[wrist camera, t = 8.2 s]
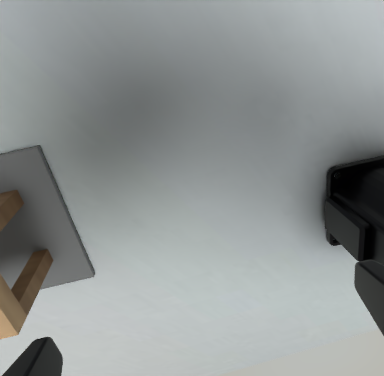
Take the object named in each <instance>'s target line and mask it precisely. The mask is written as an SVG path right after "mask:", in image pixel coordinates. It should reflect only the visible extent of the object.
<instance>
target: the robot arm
mask: <svg viewBox="0 0 384 376" xmlns="http://www.w3.org/2000/svg"><path fill="white" fill-rule="evenodd" d="M337 172H338V174H337V175H336V176H335V177H334V175H335V173H337ZM325 228H326V229H327V241H328V242H329V243H330V244H331V245H333V246H336V245H340V244H341V245H342V246H343V247H344V248H345V249H346V250H347V251H348V252H349V253H350V254H351V255H352V256H353V257H354V258H355V259H356V260H357V261H359V262H357V263H356V265H355V280H354V284H355V288H356V291H357V292H358V294H359V296H360V297H361V299H362V301H363V302H364V304H365V306H366V307H367V309H368V311H369V312H370V314H371V316H372V317H373V319H374V321H375V322H376V324H377V326H378V327H379V329H380V330H381V332H382V334H383V335H384V156H380V157H375V158H371V159H367V160H362V161H358V162H354V163H349V164H345V165H341V166H336V167H333V168H331V169H330V170H329V172H328V174H327V198H326V200H325ZM334 238H335V239H334ZM333 239H334V240H333ZM62 365H63V358H62V354H61V352H60V351H59V349H58V348H57V346H56V344H55V343H54V341H53V339H52V338H50V337H44V338H40V339H36V340H34V341H33V342H32V343H31V344H30V345H29V346H28V348H27V349H26V350H25V351H24V352H23V353H22V354H21V355H20V356H19V357H18V359H17V360H16V361H15V362H14V363H13V364H12V365H11V366H10V367H9V369H8V370H7V371H6V372H5V373H4V374H3V375H2V376H61V373H62Z"/></svg>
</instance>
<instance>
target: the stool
mask: <svg viewBox="0 0 384 376" xmlns="http://www.w3.org/2000/svg"><path fill="white" fill-rule="evenodd" d="M23 204H24V202H23V200H22V198H21V196H20V194H19V192H18V190H13V191H8V192H4V193H1V194H0V232H1V230H2V229H3V228H4V227H5V226H6V225H7V223H8V222H9V221H10V220H11V219H12V217H13V216H14V215H15V214H16V213H17V211H18V210H19V209H20V208H21V207H22V206H23ZM52 262H53V258H52V256H51V254H50V253H49V251H48V249H45V250H41V251H37V252H33V253H32V255H31V257H30V258H29V260H28V262H27V264H26V265H25V267H24V269H23V270H22V272H21V274H20V275H19V277H18V279H17V280H16V282H15V284H14V285H13V287H12V289H11V290H10V288H9V286H8V285H7V283H6V282H5V280H4V278H3V277H2V275H1V274H0V339H3V338H7V337H11V336H15V335H18V334H19V332H20V330H21V328H22V326H23V324H24V322H25V319H26V317H27V315H28V313H29V311H30V309H31V307H32V305H33V303H34V300H35V298H36V296H37V294H38V292H39V290H40V288H41V286H42V284H43V281H44V279H45V277H46V275H47V273H48V271H49V269H50V267H51V265H52Z"/></svg>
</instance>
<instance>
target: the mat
mask: <svg viewBox="0 0 384 376" xmlns="http://www.w3.org/2000/svg"><path fill="white" fill-rule="evenodd" d="M13 190H18V192H19V194H20V196H21V198H22V200H23V202H24V204H23V206H22V207H21V208H20V209H19V210H18V211H17V213H16V214H15V215H14V216H13V217H12V219H11V220H10V221H9V222H8V223H7V225H6V226H5V227H4V228H3V229H2V230H1V232H0V274H1V275H2V277H3V278H4V280H5V282H6V283H7V285H8V286H9V288H10V290H11V289H12V287H13V285H14V284H15V282H16V280H17V279H18V277H19V275H20V274H21V272H22V270H23V269H24V267H25V265H26V264H27V262H28V260H29V258H30V257H31V255H32V253H33V252H37V251H41V250H45V249H48V251H49V253H50V254H51V256H52V258H53V262H52V265H51V267H50V269H49V271H48V273H47V275H46V277H45V279H44V281H43V284H42V286H41V288H40V289H44V288H49V287H53V286H57V285H61V284H65V283H70V282H74V281H78V280H82V279H87V278H91V277H94V275H95V272H94V270H93V267H92V265H91V263H90V260H89V258H88V256H87V254H86V251H85V249H84V247H83V244H82V242H81V240H80V238H79V235H78V233H77V231H76V228H75V226H74V224H73V222H72V219H71V217H70V215H69V212H68V210H67V208H66V206H65V203H64V201H63V199H62V196H61V194H60V192H59V190H58V187H57V185H56V183H55V180H54V178H53V176H52V174H51V171H50V169H49V167H48V164H47V162H46V160H45V158H44V155H43V153H42V151H41V148H40V146H35V147H30V148H26V149H21V150H17V151H12V152H8V153H3V154H0V194H1V193H4V192H8V191H13Z"/></svg>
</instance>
